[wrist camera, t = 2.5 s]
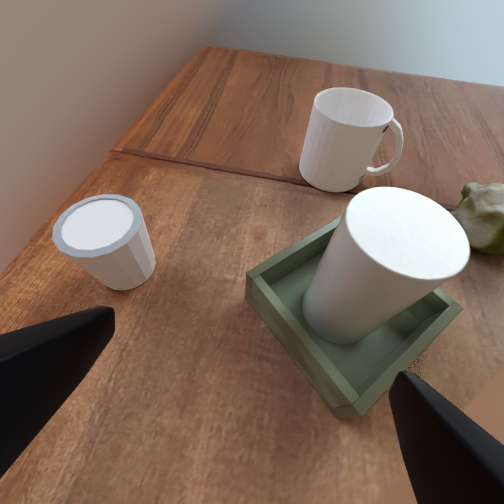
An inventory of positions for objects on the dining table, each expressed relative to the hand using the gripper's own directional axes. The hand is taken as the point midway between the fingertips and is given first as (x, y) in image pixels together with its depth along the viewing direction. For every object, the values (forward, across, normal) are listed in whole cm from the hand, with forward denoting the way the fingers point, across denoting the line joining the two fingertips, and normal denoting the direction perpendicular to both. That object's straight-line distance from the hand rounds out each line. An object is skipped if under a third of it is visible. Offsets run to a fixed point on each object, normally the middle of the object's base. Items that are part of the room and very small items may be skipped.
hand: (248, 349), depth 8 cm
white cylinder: (+16, -7, +6) cm, 18 cm away
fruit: (+27, -24, -1) cm, 37 cm away
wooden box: (+16, -7, +7) cm, 19 cm away
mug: (+33, -8, -5) cm, 34 cm away
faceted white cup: (+16, +14, +7) cm, 23 cm away
